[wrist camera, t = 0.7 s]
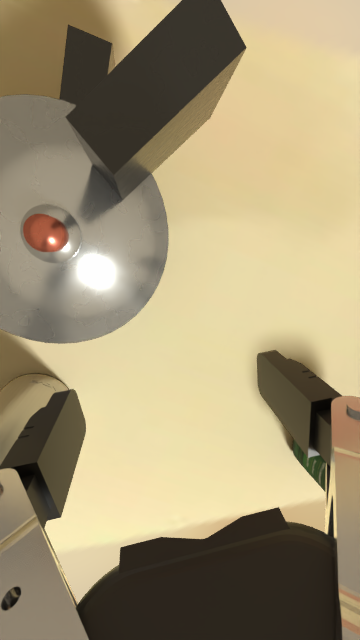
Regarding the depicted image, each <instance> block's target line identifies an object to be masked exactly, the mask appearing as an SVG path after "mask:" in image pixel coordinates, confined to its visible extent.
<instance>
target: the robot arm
mask: <svg viewBox="0 0 360 640" xmlns="http://www.w3.org/2000/svg"><path fill="white" fill-rule="evenodd" d="M257 373H258V387H259V391H260V394H261V396H262V397H263V399H264V400H265V401H266V403H267V404H268V405H269V407H270V408H271V409H272V411H273V412H274V413H275V415H276V416H277V417H278V419H279V420H280V421H281V423H282V424H283V425H284V427H285V428H286V429H287V431H288V432H289V433H290V435H291V436H292V437H293V438H294V440H295V441H296V442H297V444H298V445H299V446H300V448H301V449H302V450H303V452H304V453H305V454H306V456H307V457H308V458H309V457H313V456H317V455H321V457H322V458H323V459H324V460H325V462H326V489H325V533H324V532H322V531H320V530H317V529H315V528H313V527H310V526H306V525H303V524H299V523H293V522H286V521H285V519H284V517H283V515H282V513H281V511H280V509H279V507H278V508H274V509H270V510H266V511H262V512H259V513H255V514H251V515H247V516H243V517H240V518H239V519H237V520H236V521H234V522H232V523H231V524H229V525H227V526H226V527H224V528H223V529H221V530H220V531H218V532H216V533H215V534H213V535H211V536H210V537H208V538H206V539H186V538H167V537H160V538H156V539H152V540H148V541H144V542H140V543H136V544H132V545H128V546H125V547H121V549H120V563H119V565H118V566H116V567H115V568H113V569H112V570H111V571H109V572H108V573H107V574H105V575H104V576H103V577H102V578H101V579H100V580H99V581H98V582H96V584H94V585H93V587H92V588H91V589H90V590H89V591H88V592H87V593H86V594H85V596H84V597H83V598H82V599H81V601H80V602H79V603H78V602H77V601H76V598H75V596H74V594H73V592H72V590H71V587H70V585H69V583H68V581H67V579H66V576H65V574H64V571H63V570H62V567H61V565H60V562H59V560H58V558H57V556H56V553H55V551H54V549H53V547H52V544H51V542H50V540H49V538H48V535H47V533H46V531H45V529H44V527H45V524H46V521H47V520H51V519H56V518H60V517H61V515H62V512H63V508H64V505H65V502H66V498H67V495H68V491H69V488H70V485H71V481H72V478H73V474H74V471H75V467H76V464H77V461H78V457H79V454H80V450H81V447H82V444H83V440H84V437H85V432H86V423H85V418H84V415H83V412H82V409H81V406H80V403H79V399H78V396H77V393H76V391H75V390H74V389H71V390H68V388H67V387H66V386H65V385H64V384H63V383H62V382H60V381H59V380H57V379H55V378H53V377H50V376H47V375H42V374H28V375H23V376H20V377H18V378H15V379H14V380H12V381H11V382H9V383H8V384H7V385H6V386H5V387H4V388H3V389H2V390H1V391H0V640H360V398H359V397H354V396H342V395H340V394H339V393H338V392H337V391H335V390H334V389H333V388H332V387H330V386H329V385H328V384H327V383H325V382H324V381H323V380H321V379H320V378H319V377H317V376H316V375H315V374H314V373H313V372H311V371H310V370H309V369H308V368H306V367H305V366H304V365H303V364H301V363H299V362H297V361H294V360H292V359H286V358H285V357H283V356H282V355H281V354H280V353H279V352H277V351H276V350H273V351H268V352H263V353H259V354H258V355H257Z"/></svg>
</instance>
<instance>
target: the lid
mask: <svg viewBox="0 0 360 640" xmlns="http://www.w3.org/2000/svg"><path fill="white" fill-rule="evenodd" d="M245 50H246V46H245V44H244V42H243V40H242V38H241V37H240V35H239V33H238V31H237V29H236V27H235V26H234V24H233V22H232V20H231V18H230V16H229V15H228V13H227V11H226V9H225V7H224V5H223V4H222V2H221V0H182V1H181V2H180V3H179V4H178V5H177V6H176V7H175V8H174V9H173V10H172V11H171V12H170V13H169V14H168V15H167V16H166V17H165V18H164V19H163V20H162V21H161V22H160V23H159V24H158V25H157V26H156V27H155V28H154V29H153V30H152V31H151V32H150V33H149V34H148V35H147V36H146V37H145V38H144V39H143V40H142V41H141V42H140V43H139V44H138V45H137V46H136V47H135V48H134V49H133V50H132V51H131V52H130V53H129V54H128V55H127V56H126V57H125V58H124V59H123V60H122V61H121V62H120V63H119V64H118V65H117V66H116V67H115V68H114V69H113V70H112V71H111V72H110V73H109V74H108V75H107V76H106V77H105V78H104V79H103V80H102V81H101V82H100V83H99V84H98V85H97V86H96V87H95V88H94V89H93V90H92V91H91V92H90V93H89V94H88V95H87V96H86V97H85V98H84V99H83V100H82V101H81V102H80V103H79V104H78V105H77V106H76V105H74V104H71V103H69V102H66V101H63V100H59V99H55V98H51V97H47V96H39V95H28V94H24V95H7V96H3V97H0V329H2V330H4V331H7V332H9V333H11V334H14V335H16V336H20V337H23V338H26V339H29V340H34V341H40V342H45V343H59V344H60V343H76V342H82V341H88V340H92V339H95V338H98V337H101V336H104V335H106V334H108V333H111V332H113V331H115V330H116V329H118V328H120V327H121V326H123V325H125V324H126V323H127V322H128V321H130V320H131V319H132V318H133V317H135V316H136V315H137V314H138V313H139V312H140V311H141V310H142V308H143V307H144V306H145V305H146V304H147V302H148V301H149V299H150V298H151V297H152V295H153V293H154V291H155V290H156V288H157V286H158V284H159V281H160V279H161V276H162V274H163V271H164V267H165V263H166V259H167V251H168V224H167V216H166V211H165V207H164V203H163V199H162V196H161V194H160V191H159V188H158V186H157V183H156V181H155V179H154V177H153V175H152V174H151V173H152V172H153V171H154V170H155V169H156V168H158V167H159V166H160V165H161V164H162V163H163V162H164V161H165V160H166V159H167V158H168V157H169V156H170V155H171V154H172V153H173V152H174V151H176V150H177V149H178V148H179V147H180V146H181V145H182V144H183V143H184V142H185V141H186V140H187V139H188V138H189V137H190V136H191V135H192V134H193V133H195V132H196V131H197V130H198V129H199V128H200V127H201V126H202V125H203V124H204V123H205V122H206V121H207V120H208V119H209V118H210V117H211V115H212V113H213V111H214V109H215V107H216V105H217V103H218V101H219V100H220V98H221V96H222V94H223V92H224V90H225V88H226V86H227V84H228V82H229V80H230V78H231V76H232V75H233V73H234V71H235V69H236V67H237V65H238V63H239V61H240V59H241V57H242V55H243V53H244V52H245Z"/></svg>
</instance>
